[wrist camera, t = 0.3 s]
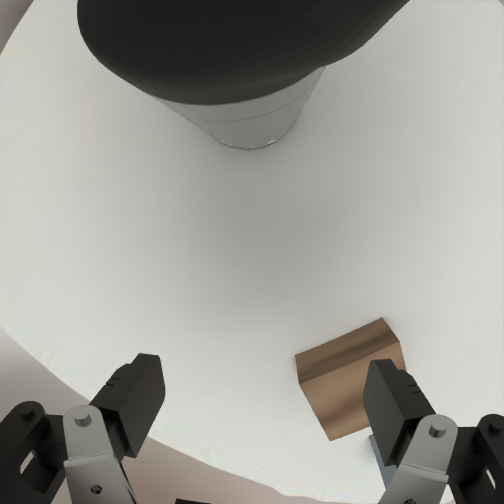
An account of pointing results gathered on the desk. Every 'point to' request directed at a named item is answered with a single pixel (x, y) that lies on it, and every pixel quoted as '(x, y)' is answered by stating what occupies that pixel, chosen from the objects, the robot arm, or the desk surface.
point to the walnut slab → (345, 375)
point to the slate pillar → (385, 471)
